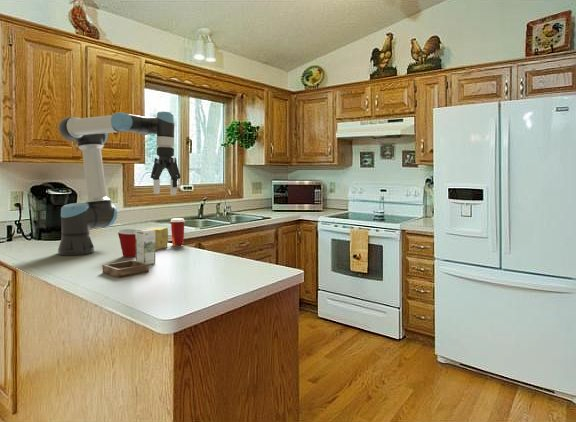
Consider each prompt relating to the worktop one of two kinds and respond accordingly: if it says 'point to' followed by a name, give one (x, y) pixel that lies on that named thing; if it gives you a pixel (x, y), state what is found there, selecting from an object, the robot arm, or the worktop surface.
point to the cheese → (160, 237)
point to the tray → (125, 268)
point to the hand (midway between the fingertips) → (164, 194)
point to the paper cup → (177, 231)
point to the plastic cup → (127, 242)
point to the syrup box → (145, 246)
